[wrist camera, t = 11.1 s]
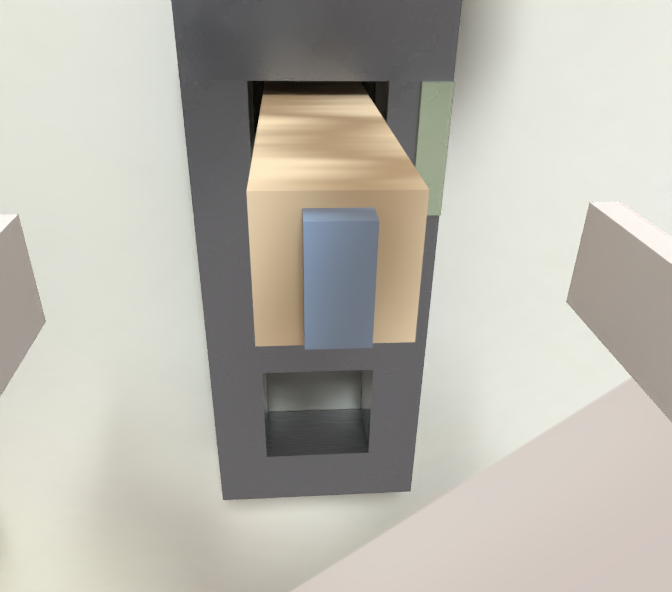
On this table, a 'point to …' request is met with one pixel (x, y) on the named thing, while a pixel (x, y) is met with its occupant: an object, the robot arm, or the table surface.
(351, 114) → the plug
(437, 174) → the panel
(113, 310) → the table surface
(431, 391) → the table surface
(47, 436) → the table surface
